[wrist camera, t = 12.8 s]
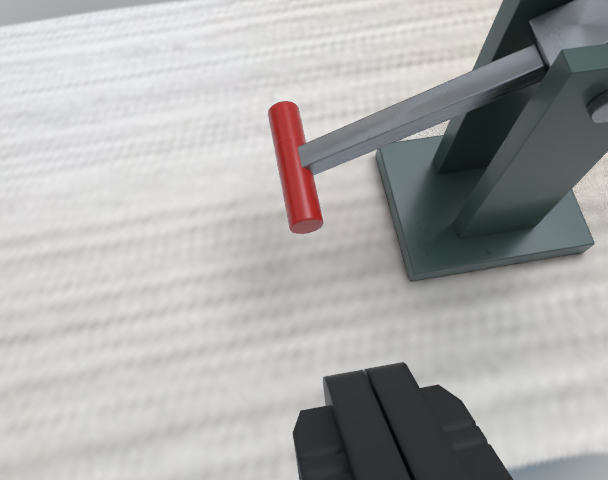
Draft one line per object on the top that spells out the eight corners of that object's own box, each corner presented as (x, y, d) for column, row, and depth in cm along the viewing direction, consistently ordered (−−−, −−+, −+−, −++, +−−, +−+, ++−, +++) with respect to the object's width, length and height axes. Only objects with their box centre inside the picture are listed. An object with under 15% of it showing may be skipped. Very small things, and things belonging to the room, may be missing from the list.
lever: (304, 240, 25) (278, 223, 23) (281, 128, 27) (256, 104, 25) (654, 111, 20) (661, 75, 18) (590, -12, 22) (590, -56, 20)
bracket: (409, 281, 30) (502, 124, 17) (375, 155, 33) (431, -61, 20) (584, 252, 31) (802, 81, 18) (535, 132, 34) (689, -89, 21)
